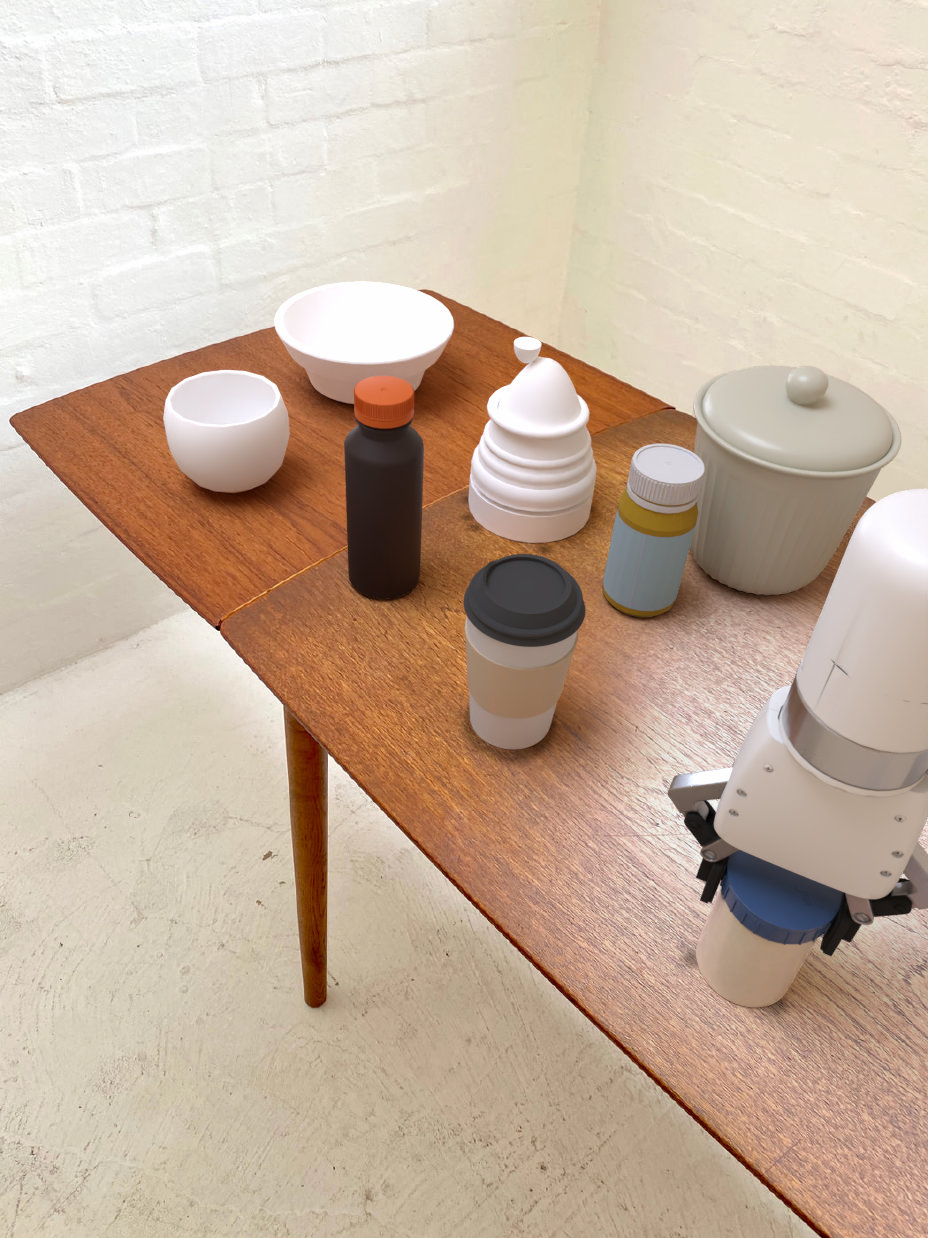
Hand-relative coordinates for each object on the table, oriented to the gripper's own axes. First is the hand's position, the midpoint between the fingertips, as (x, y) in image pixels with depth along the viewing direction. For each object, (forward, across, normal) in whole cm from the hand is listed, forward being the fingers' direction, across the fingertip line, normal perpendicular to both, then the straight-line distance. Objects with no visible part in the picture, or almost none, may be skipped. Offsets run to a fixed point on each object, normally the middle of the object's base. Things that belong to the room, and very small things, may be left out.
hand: (769, 908), depth 61 cm
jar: (+7, 0, 0) cm, 7 cm away
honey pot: (+7, +33, -41) cm, 53 cm away
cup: (+7, +62, -29) cm, 69 cm away
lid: (-3, 0, 0) cm, 3 cm away
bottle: (+7, +18, -32) cm, 38 cm away
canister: (+7, +10, -43) cm, 45 cm away
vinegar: (+7, +40, -23) cm, 47 cm away
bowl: (+7, +61, -54) cm, 82 cm away
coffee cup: (+7, +23, -12) cm, 27 cm away
